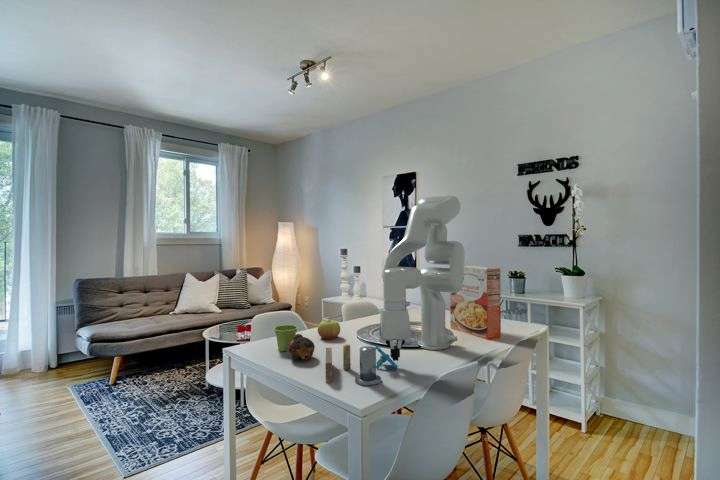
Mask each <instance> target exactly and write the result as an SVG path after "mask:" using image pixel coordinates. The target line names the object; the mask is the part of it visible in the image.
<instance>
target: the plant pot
mask: <svg viewBox="0 0 720 480" xmlns="http://www.w3.org/2000/svg"><path fill="white" fill-rule="evenodd" d="M298 329H299V327H298V326H297V325H295V324H281V325H278V326H274V327H273V330H274V333H275V336H276V337H275V338H276V344H277V350H278V352H279V351H280V352H289V349H288V345H289V343H290V342H291V341H292V340H293V338H294V336H295V335H296V334H297V332H298V331H297V330H298Z"/></svg>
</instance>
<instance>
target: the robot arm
mask: <svg viewBox="0 0 720 480" xmlns="http://www.w3.org/2000/svg"><path fill="white" fill-rule="evenodd" d="M460 211H461V202H460V200H459V198H458V197H457V196H455V195H443V196H442V195H440V196H428V197H423V198H421V199H419V200H418V202H417V204H415V205H414V206H412V208H411V209H410V212H409V217H408V219H407V224H406V228H405V232H404V236H403V238H402V240H401V241H400V242H398V243H397V244H396V245H395V246H394V247H393V248H392V249H391V250H390V252H389V253H388V255H387V257H386V260H385V264H384V266H383V269H382V281H383V282H382V283H383V308H381V310H380V316H379V341H378V342H379V343H381V344H385V345H387V346H388V347H389V348H390V358H392V359H391V360H392V361H393V362H395V361H396V362H398V361H399V358H400V357H401V348H402V347H403V345H405V344H407V343H410V342H412V338H411V332H412V331H411V322H410V320H411V319H410V315H409V314H410V313H409V310H408V309H407V307H411V302H410V301H407V290H409V289H411V290H414V289H417V288H418V287H419V290H420V300H421V301H420V308H421V309H420V310H421V311H420V312H421V313H420V314H421V315H420V316H421V319H420V321H421V325H420V327H421V339H419V340H418V341H417V346H418V345H420V346H421V347H420V348H421V349H424V350H430V351H440V350H446V349H449V348H450V342H458V336H455V335H451V334H450V335H448V334H446V301H445V299H444V297H443V295H442V293H457V292H459V291H460V290H461V288H462V285H463V275H464V265H465V261H466V260H465V259H466V258H465V253H466V252H465V248H464V245H463V243H461V242H460V241H459V240H458V241H456V240H448V227H447V226H446V225H447V224H449V223H451V221H453V220H454V219H455V218H456V217H458V215H459V213H460ZM423 248H424V259H425V261H426V263H429V264H430V265H442V266H443V265H445V266H449V267H437V266H436V267H435V266H434V267H433V266H429V267H424V268H422V269H421V270H420V269H419V268H417V267H411V266H409V267H408V266H399V264H400V262H401V261H402V260H403V259H404V258H405V257H407V256H409V255H410V254H412V253H415V252H417V251H420V250H421V249H423ZM394 341H396V344H395V343H394Z"/></svg>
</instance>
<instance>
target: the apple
mask: <svg viewBox="0 0 720 480" xmlns="http://www.w3.org/2000/svg"><path fill="white" fill-rule="evenodd" d="M340 333H341V326H340V323H339V321H336V320H332V319H327V320H322V321H321V322H320V323H319V324H318V326H317V334H318V335H319V336H320V338H321V339H324V340H333V339H334V340H335V339H336V338H338V336H339V335H340Z"/></svg>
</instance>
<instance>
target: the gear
mask: <svg viewBox="0 0 720 480" xmlns="http://www.w3.org/2000/svg"><path fill="white" fill-rule="evenodd" d="M375 348H376V352H378V353H380V356H379V359H378V360H376V370H378V369H379V368H380V367H381V366H382V365H383V364H384V363H386V362H389V363H390V365H391V366H392V367H394V368H395V369H397V368H399V366H398V365H397V364H396V362H395V361H393V359H391V356H390V355H389V354H388V353H386V352H385V351H383V350H382V348H380V347H379V346H378V345H376V346H375Z"/></svg>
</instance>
